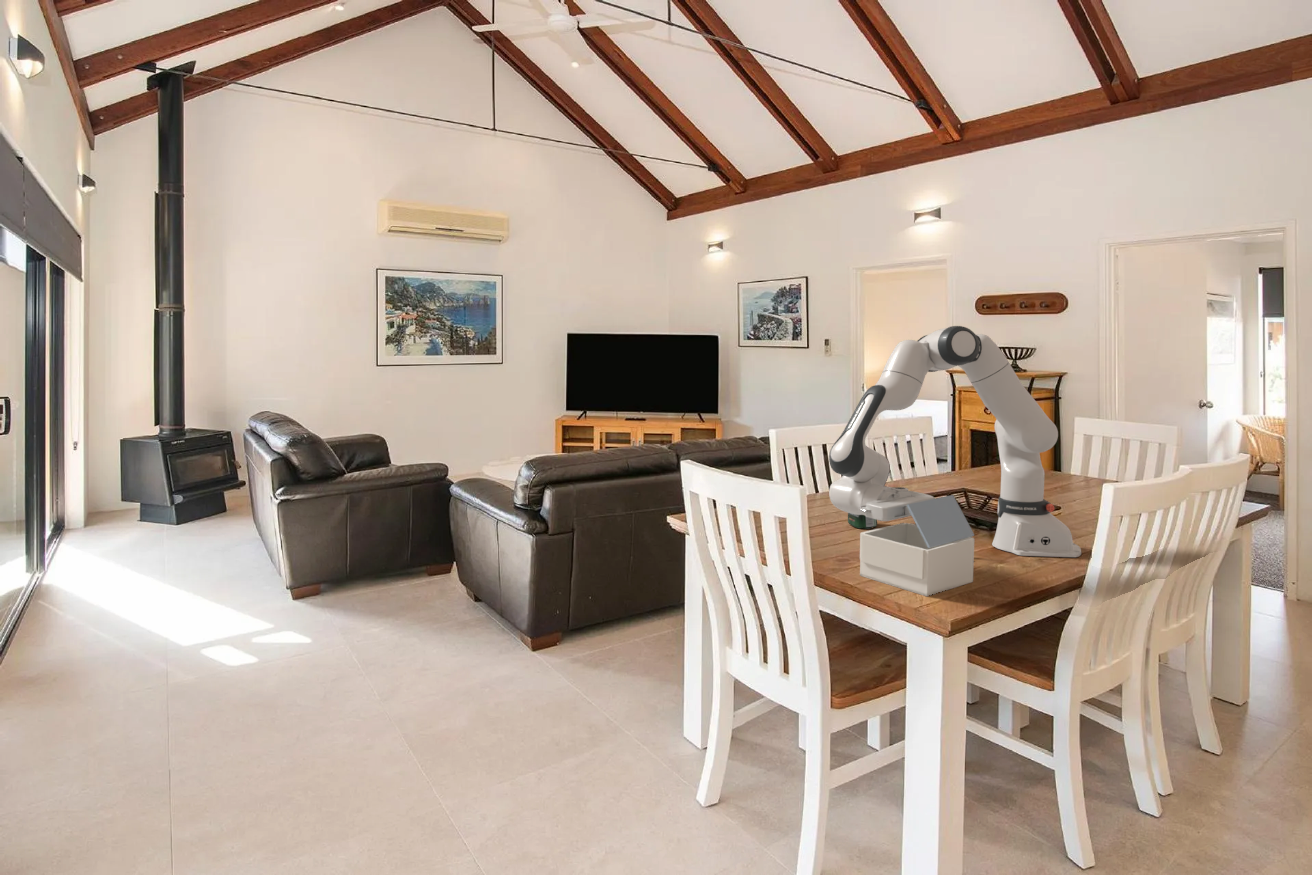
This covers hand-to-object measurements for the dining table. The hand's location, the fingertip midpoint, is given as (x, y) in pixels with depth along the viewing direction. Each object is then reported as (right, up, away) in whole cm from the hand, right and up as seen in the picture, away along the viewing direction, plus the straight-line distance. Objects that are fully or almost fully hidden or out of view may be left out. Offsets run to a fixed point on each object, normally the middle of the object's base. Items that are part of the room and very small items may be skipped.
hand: (927, 512), depth 188 cm
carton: (-1, -17, +5) cm, 18 cm away
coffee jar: (0, -10, +59) cm, 60 cm away
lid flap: (+2, -2, -3) cm, 4 cm away
